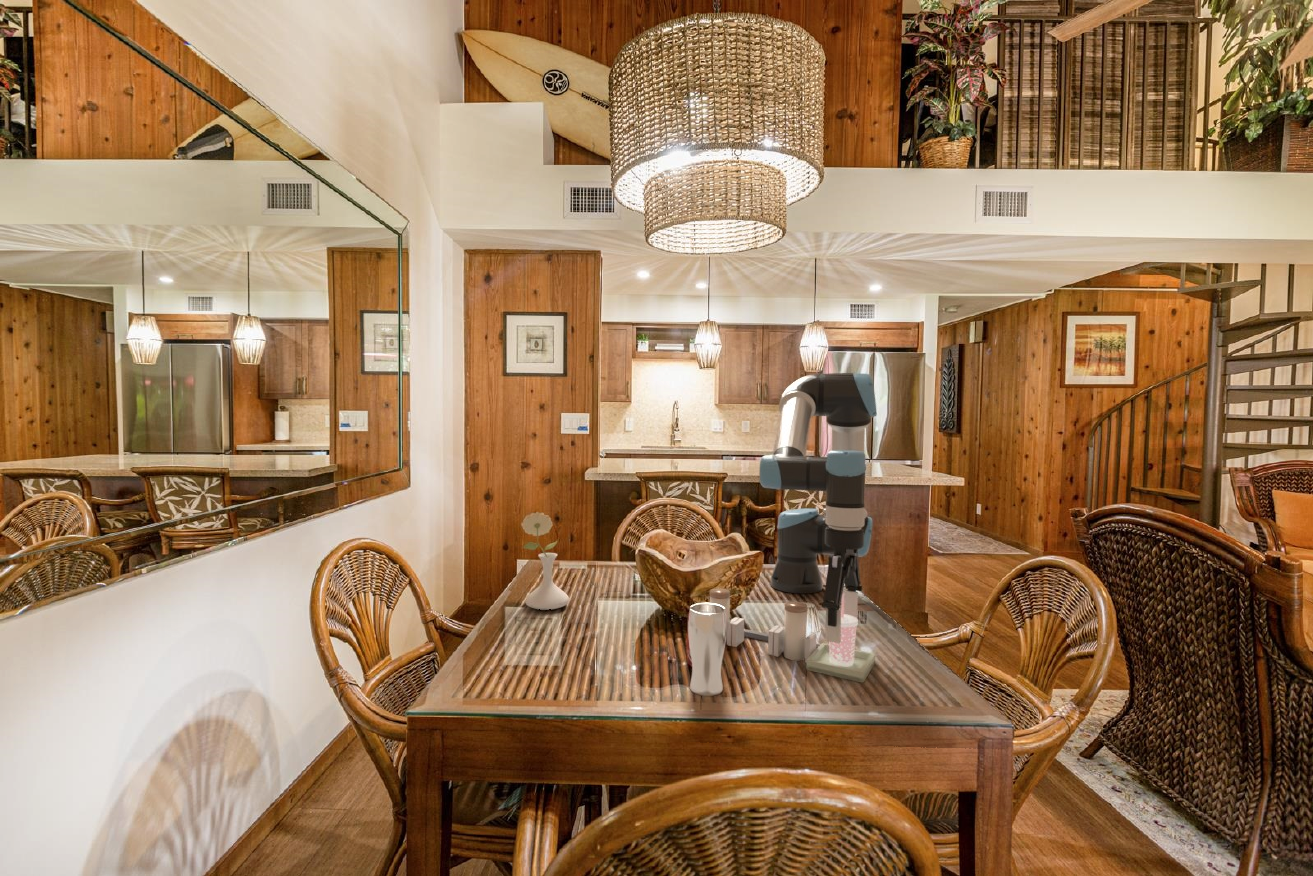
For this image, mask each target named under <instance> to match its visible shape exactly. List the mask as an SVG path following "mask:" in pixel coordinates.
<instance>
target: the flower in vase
mask: <svg viewBox="0 0 1313 876" xmlns="http://www.w3.org/2000/svg"><path fill="white" fill-rule="evenodd" d="M520 525H521V527H522V529H523V530H524V533H526V534H528V535H532V536H533V537H536V540H537V542H533V541H530V542H529V541H528V542H527V543H526V544H524V545H523V547H522V549H526V550H531V551H535V550H536V549H537V548H538V547H539V548H540V549H541V551H542V553H539V554H538V558H539V559H540V562H541V563H542V571H543V575H542V582H541V584H540V585H538V587H536V588H535V589H534V590H533V591H531V592H530V593H529V594H528V595H527V596H526V598H525V604H526V605H527V607H529V608H532V609H535V610H539V609H540V610H541V611H546V610H547V611H550V610H549V609H551V610H556V609H559V608H563V607H565V606H567V605H568V603H569V602H570V597H569V596H568V594H567V593H566V592H565V591H563V589H561V588H560V587H558V586H557V585H556V584H555V583H554V580H553V566H554V562H555V560H556V558H558V553H555V552H546V551H548V550H551V549H553V548H554V547H556V545H557V543H558V540H556V541H555V542H552V543H548V544H547V545H546V546H545V547H544V548H543V547H542V546H541V544H540V542H539V541H540V540H539V537H541V536H543V535H545V534H547V533H548V534H549V533H550V530H551V529H552V527H553V525H554V524H553V521H552V518H551V517H550V515H549V514H548V515H547V514H545V513H544V512H541V513H540V512H539V511H536V512H531V513H530V514H527V515H526V516H525V517H524V519H523V520H522V522H521V523H520Z"/></svg>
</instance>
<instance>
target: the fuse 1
mask: <svg viewBox="0 0 1313 876" xmlns="http://www.w3.org/2000/svg"><path fill="white" fill-rule="evenodd" d="M709 603H712V604H718V605H721V606H723V607H724V608H725V615H726V642H725V644H727V622H729V621H730V620H731V619H730V617H731V616H730V615H731V613H730V611H731V607H730V605H731V604H730V603H731V591H730V590H729V589H726V588H718V587H717V588H712V589H709Z"/></svg>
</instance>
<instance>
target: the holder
mask: <svg viewBox="0 0 1313 876" xmlns="http://www.w3.org/2000/svg"><path fill="white" fill-rule="evenodd" d="M817 636H818V635H817V632H813V631H812V632H811V633H810V634H809V635H808V636H806V639H805V659H804V663H805V664H806V660H807V659H808V658H809V657H810V655H811V654H812V653H813V652H814V651H815V650H816V649H817V648H818V647H819V646H820V645H821V644H818V643H817V638H818V637H817ZM745 638H750V639H753V640H759V641H764V642H767V644H768V645H767V655H769V656H774V657H779V656H780V655H781V654H783V653H784V626H781V625H776V624H775V626H773V627H771V628H770V629H769V630H768V633H767V632H760V631H757V630H756V631H755V630H752V629H746V628H745V618H740V617H733V618H732V619H730V621H729V622H727V642H726V645H727V646H730V647H734V648H737V647H738V646H739V645H741V644H742V643H743V642H744V641H745Z"/></svg>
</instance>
